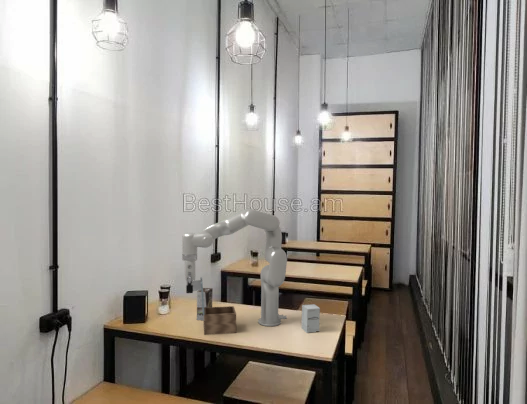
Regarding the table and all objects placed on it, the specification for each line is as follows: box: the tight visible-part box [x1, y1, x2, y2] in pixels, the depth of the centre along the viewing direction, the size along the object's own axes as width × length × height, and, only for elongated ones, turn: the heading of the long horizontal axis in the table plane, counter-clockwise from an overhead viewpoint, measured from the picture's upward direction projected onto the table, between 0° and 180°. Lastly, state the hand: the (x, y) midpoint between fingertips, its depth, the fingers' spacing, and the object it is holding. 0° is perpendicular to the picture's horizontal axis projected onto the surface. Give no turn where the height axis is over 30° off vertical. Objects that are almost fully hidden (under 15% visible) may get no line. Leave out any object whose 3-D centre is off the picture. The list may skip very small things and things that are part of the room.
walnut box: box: [203, 305, 237, 336], centre depth 191 cm, size 16×12×10 cm
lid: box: [192, 277, 204, 315], centre depth 188 cm, size 16×12×8 cm
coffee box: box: [196, 287, 213, 322], centre depth 208 cm, size 9×6×16 cm
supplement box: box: [301, 303, 321, 334], centre depth 192 cm, size 7×7×13 cm
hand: (189, 290), depth 188 cm, fingers open, 9 cm apart
